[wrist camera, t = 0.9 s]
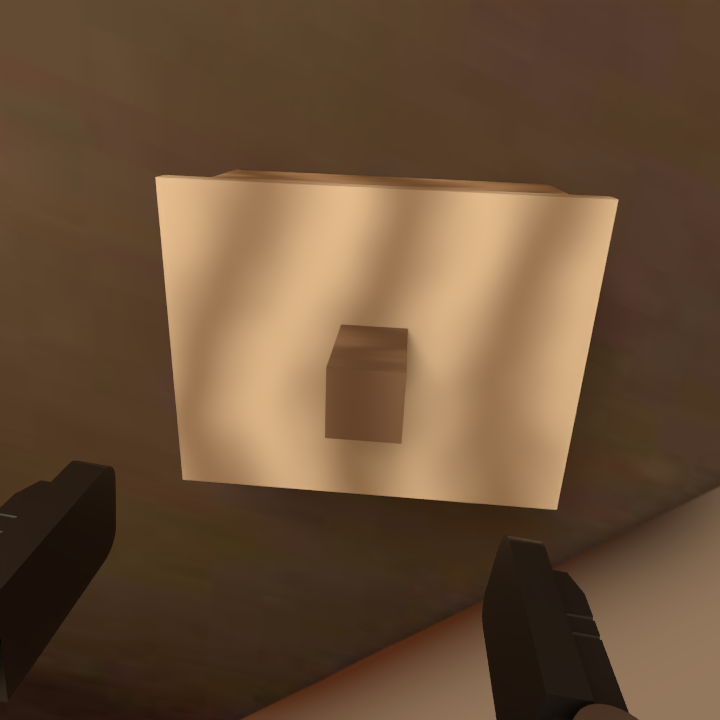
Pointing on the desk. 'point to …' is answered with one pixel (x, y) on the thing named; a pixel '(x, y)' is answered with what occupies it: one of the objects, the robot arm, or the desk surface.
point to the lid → (380, 334)
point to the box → (392, 181)
